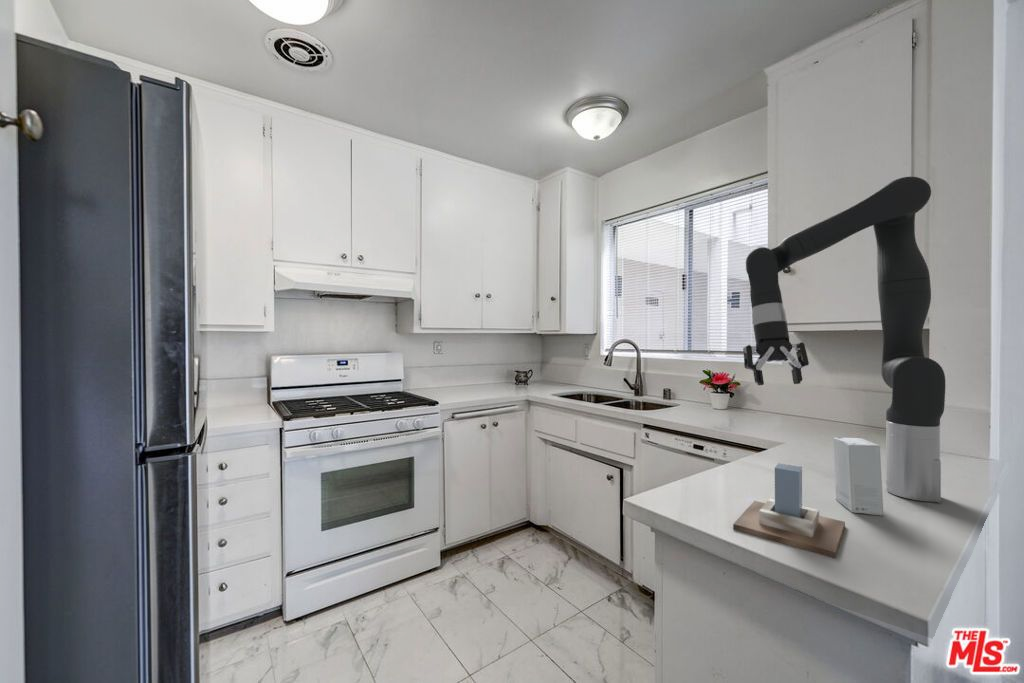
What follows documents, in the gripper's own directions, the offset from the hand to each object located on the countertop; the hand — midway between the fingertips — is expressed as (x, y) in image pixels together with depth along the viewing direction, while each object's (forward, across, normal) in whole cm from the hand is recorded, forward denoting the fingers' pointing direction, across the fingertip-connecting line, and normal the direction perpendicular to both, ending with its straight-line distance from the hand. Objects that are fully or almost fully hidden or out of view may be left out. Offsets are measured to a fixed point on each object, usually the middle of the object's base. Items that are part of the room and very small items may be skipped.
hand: (778, 384), depth 106 cm
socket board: (+30, -11, -20) cm, 37 cm away
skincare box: (+28, +9, -7) cm, 31 cm away
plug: (+29, -11, -20) cm, 37 cm away
